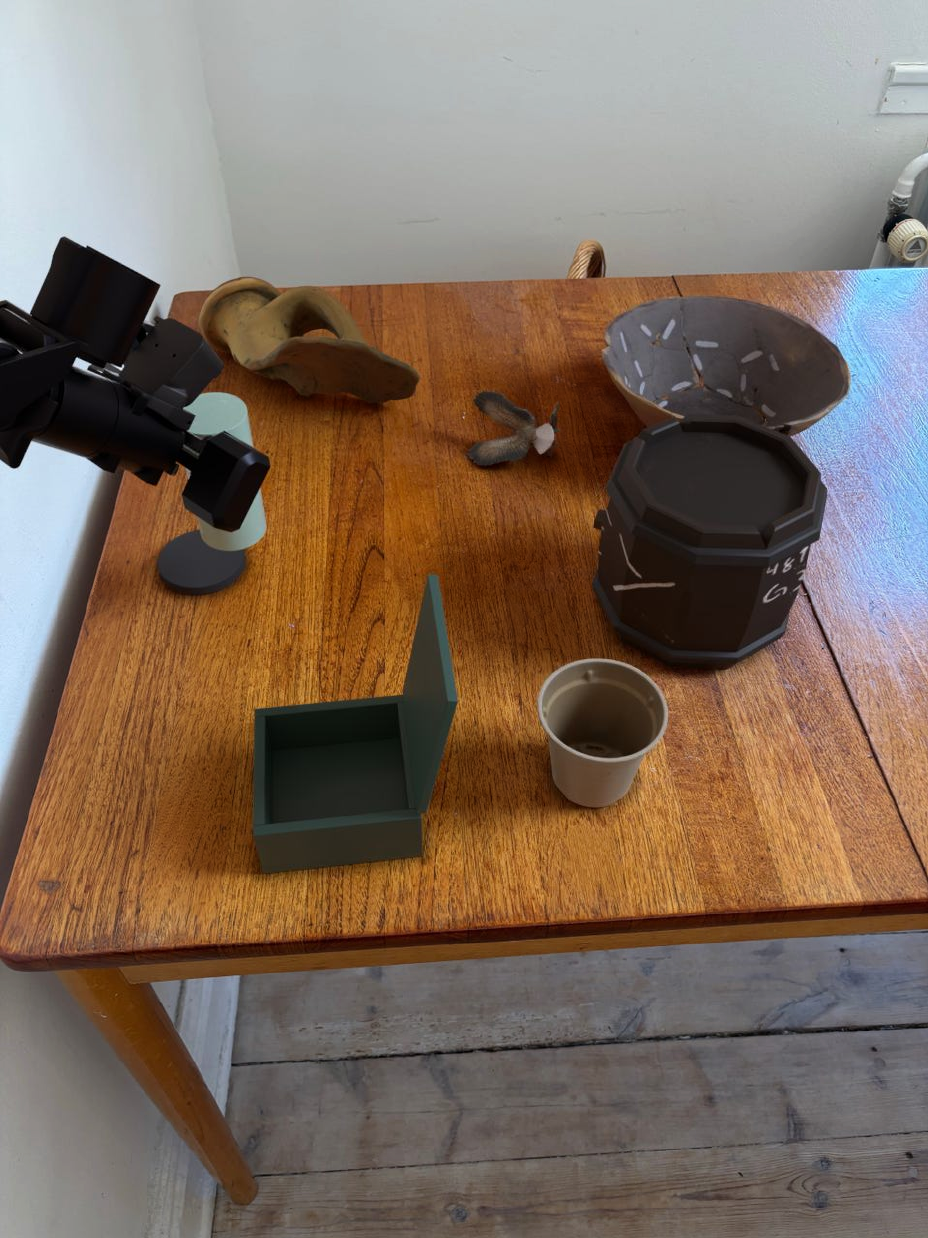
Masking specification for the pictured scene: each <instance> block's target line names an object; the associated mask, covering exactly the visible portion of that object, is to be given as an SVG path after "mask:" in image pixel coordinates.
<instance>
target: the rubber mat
mask: <svg viewBox="0 0 928 1238" xmlns="http://www.w3.org/2000/svg"><path fill="white" fill-rule="evenodd" d="M246 564H247V557H246V551H245V549H241V550H236V551H222V550H217V549H215V548H212V547H210V546H209V545H207V544H206V543H205V542H204V541H203V539H202V537H201V533H200V529H194V530H191V531H187V532H185V533H182V534H181V535H178V536H176V537H174V538H173V539H171V540H170V541H168V543H166V544H165V545H164V547H162V549H161V551H160V552H159V555H158V558H157V570H158V572H159V576H160V580H161V581H162V582H163V583H164V584H165V586H167V587H168V588H169V589H171V590H172V591H174V592H177V593H179V594H183V595H188V596H202V595H209V594H213V593H218V592H219V591H222V590H224V589H226V588H228V587H230V586H231V585H233V584H234V583H235V582H237V580H238V579H240V577H241V576H242V574H243V573H244V571H245V568H246Z"/></svg>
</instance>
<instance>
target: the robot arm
mask: <svg viewBox="0 0 928 1238" xmlns="http://www.w3.org/2000/svg"><path fill="white" fill-rule="evenodd" d="M50 262H51V263H50V267H49V269H48V272H47V274H46V276H45V278H44V280H43V283H42V284H41V287H40V290H39V291H38V294H37V296H36V298H35V301H34V303H33V305H32V307H31V310H30V311H28V310H26V309H23V308H22V307H20V306H19V305H16V304H15V303H13V302H12V301H10V300H8V299H3V300H0V461H1V462H2V463H3V464H5V465H7V466H8V467H9V468H10V469H19V468H20V467H21V464H22V463H23V460H24V458H25V456H26V454H27V451H28V450H29V447H30V445H31V443H35V444H40V445H42V446H45V447H49V448H52V449H56V450H59V451H62V452H66V453H68V454H72V455H75V456H78V457H81V458H85V459H86V460H88V461H89V462H90V463H92V464H93V465H95V466H96V467H97V468H99V469H101V470H102V471H105V472H107V473H111V474H115V473H116V471H117V469H120V470H123V471H126V472H129V473H130V474H132V475H133V476H135V477H137V479H140V480H141V481H143V482H144V483H145V484H147V485H151V486H154V487H157V486H158V484H159V482H160V480H161V478H162V476H163V474H164V473H166V474H167V475H169V476H171V477H175V476H176V475H177V473H178V472H179V470H180V466H182V467H184V468H187V469H188V470H190V471H191V472H190V474H191V475H190V477H189V479H188V478H187V481H186V484H185V485H184V488H183V489H182V492H181V499H182V503H183V507H184V509H186V510H187V511H188V512H190V513H191V514H193V515H194V516H196V518H197V517H199V518H200V519H202V520H203V521H205V522H206V523H208V524H209V525H211V526H212V527H214V528H216V529H220V530H224V531H227V532H234V531H236V530H239V529H240V527H241V525H242V523H243V521H244V519H245V517H246V515H247V513H248V511H249V509H250V507H251V505H252V503H253V501H254V499H255V497H256V495H257V493H258V491H259V489H261V488H262V485H263V484H264V482H265V479H266V478H267V476H268V473H269V472H270V469H271V462H270V457H269V456H268V455H267V454H265V453H263V452H262V451H260V450H259V449H256V448H255V447H254V446H253V447H254V448H253V447H252V446H250V445H248V444H247V443H245V442H243V441H241V440H239V439H237V438H236V437H234V436H233V435H231V434H229V433H228V432H226V431H223V432H220V433H219V434H217V435H215V436H212V435H206V436H205V437H204V438H202V439H200V438H199V437H197V436H196V435H194V434H192V433H191V432H189V431H188V430H189V429H190V427H191V425H192V423H193V421H194V419H195V416H196V415H194V414H193V413H191V412H189V411H187V410H185V409H183V408H184V407H187V406H189V405H191V404H192V403H193V402H194V401H195V400H196V398H197V397H198V396H199V395H200V394H203V392H204V391H205V390H206V388H207V387H208V386H209V385H210V383H212V382H213V380H215V379H217V378H218V377H219V376H221V374H222V372H223V370H224V362H223V361H222V359H221V358H220V356H219V355H218V354H217V352H216V351H215V350H214V348H213V347H212V346H211V345H210V344H209V343H208V342H207V341H206V340H205V338H204V336H203V335H202V333H201V332H199V331H197V330H195V329H193V328H192V327H190V326H188V325H186V324H184V323H182V322H181V321H179V320H177V319H175V318H173V317H172V318H171V317H167V318H163V317H160V316H159V315H158V314H157V315H155V316H154V317H153V321H154V322H150V321H148V320H146V319H147V316H148V313H149V312H150V309H151V307H152V306H153V303H154V301H155V299H156V296H157V294H158V292H159V290H160V288H161V286H162V284H160V283H158V282H157V281H154V280H153V279H151V278H149V277H148V276H146V275H144V274H142V273H140V272H139V271H137V270H135V269H132V268H131V267H129V266H128V265H125V264H124V263H121V262H120V261H118V260H116V259H115V258H112V257H110V256H109V255H107V254H105V253H102V252H101V251H99V250H97V249H95V248H94V247H91V246H89V245H86V246H84V245H82V244H80V243H78V242H76V241H74V240H73V239H71V238H69V237H67V236H61V237H60V238H59V240H58V242H57V244H56V247H55V248H54V251H53V253H52V257H51V261H50ZM77 359H79V360H81V361H84V362H85V363H88V364H89V365H88V366H87V369H85V368H83V367H80V366H78V365H76V364H75V362H76V361H77ZM184 445H185V446H187V447H189V448H190V449H192V450H193V451H196V453H200V454H199V456H197V455H196V454H194V453H193V452H191V451H190V450H188V449H186V448H185V447H183V446H184Z"/></svg>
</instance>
